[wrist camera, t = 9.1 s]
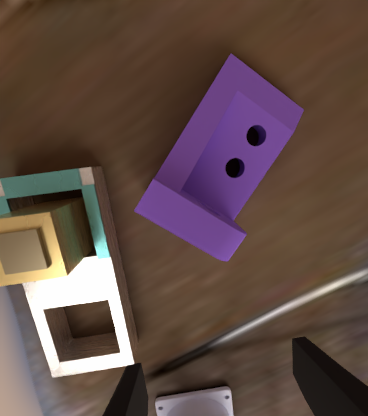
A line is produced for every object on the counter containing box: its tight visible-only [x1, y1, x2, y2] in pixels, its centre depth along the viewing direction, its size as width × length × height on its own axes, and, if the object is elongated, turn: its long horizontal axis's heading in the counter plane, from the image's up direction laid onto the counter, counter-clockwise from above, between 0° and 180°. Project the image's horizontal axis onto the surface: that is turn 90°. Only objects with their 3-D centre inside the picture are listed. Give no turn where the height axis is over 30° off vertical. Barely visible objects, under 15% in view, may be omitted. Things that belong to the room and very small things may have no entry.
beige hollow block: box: [0, 197, 95, 286], centre depth 15 cm, size 4×4×6 cm
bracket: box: [134, 54, 304, 261], centre depth 15 cm, size 12×7×7 cm, turn 148°
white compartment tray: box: [0, 166, 138, 377], centre depth 18 cm, size 17×7×3 cm, turn 7°
